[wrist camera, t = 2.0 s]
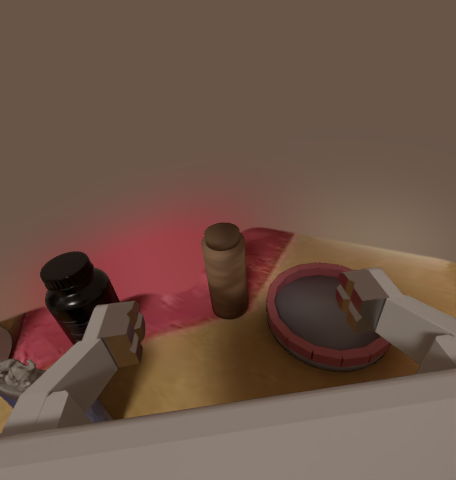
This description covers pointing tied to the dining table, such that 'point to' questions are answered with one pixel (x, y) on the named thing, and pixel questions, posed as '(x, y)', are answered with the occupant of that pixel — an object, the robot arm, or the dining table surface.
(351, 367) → the round tray
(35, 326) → the dining table surface
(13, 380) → the flask
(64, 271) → the supplement bottle
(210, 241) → the pepper mill
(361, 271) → the robot arm
